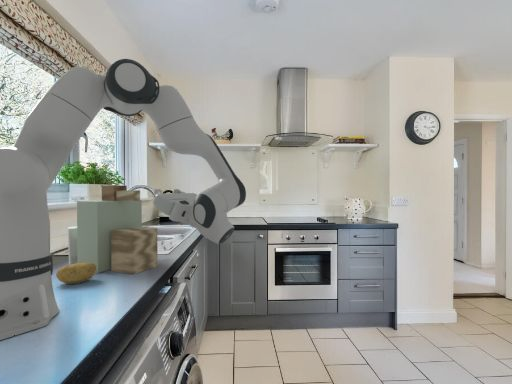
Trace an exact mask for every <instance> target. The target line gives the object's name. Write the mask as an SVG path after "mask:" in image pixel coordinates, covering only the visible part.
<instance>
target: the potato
mask: <svg viewBox="0 0 512 384" xmlns="http://www.w3.org/2000/svg"><path fill="white" fill-rule="evenodd" d="M95 274H97V273H96V266H95V264H94V263H90V262H88V263H76V264H72V265H69V264H68V265H64V266H62V267H61V268H59V269H58V270H57V271H56V278H57V279H58V280H59V281H60V282H61V283H63V284H71V285H72V284H79V283H82V282H85V281H89V280H91V278H93V277H94V276H95Z"/></svg>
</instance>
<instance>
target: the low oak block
mask: <svg viewBox="0 0 512 384" xmlns="http://www.w3.org/2000/svg"><path fill="white" fill-rule="evenodd" d="M158 256H159V255H158V228H157V227H143V226H142V227H134V228H127V229H120V230H112V231H111V269H110V270H111V272H116V273H120V274H121V273H122V274H126V275H127V274H128V275H136V274H138V273H141V272H143V271H147V270H151V269H154V268H157V267H158V265H159V264H158Z"/></svg>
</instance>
